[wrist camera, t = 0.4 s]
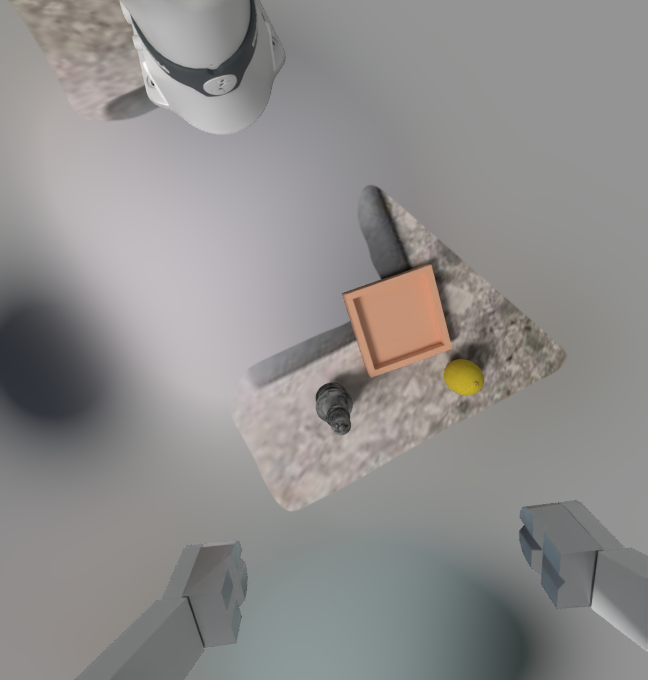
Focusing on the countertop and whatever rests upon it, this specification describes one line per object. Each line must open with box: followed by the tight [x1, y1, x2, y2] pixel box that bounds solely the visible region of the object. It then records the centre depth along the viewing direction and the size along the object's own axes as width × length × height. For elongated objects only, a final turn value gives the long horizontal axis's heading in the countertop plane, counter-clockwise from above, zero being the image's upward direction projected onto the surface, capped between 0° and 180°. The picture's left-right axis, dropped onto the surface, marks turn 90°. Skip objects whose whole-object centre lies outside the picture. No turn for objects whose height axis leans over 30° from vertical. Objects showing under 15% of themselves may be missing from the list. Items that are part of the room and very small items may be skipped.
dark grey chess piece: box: [316, 383, 353, 435], centre depth 54 cm, size 6×6×12 cm
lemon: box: [444, 359, 484, 396], centre depth 57 cm, size 6×6×8 cm
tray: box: [342, 264, 452, 378], centre depth 57 cm, size 14×14×2 cm
